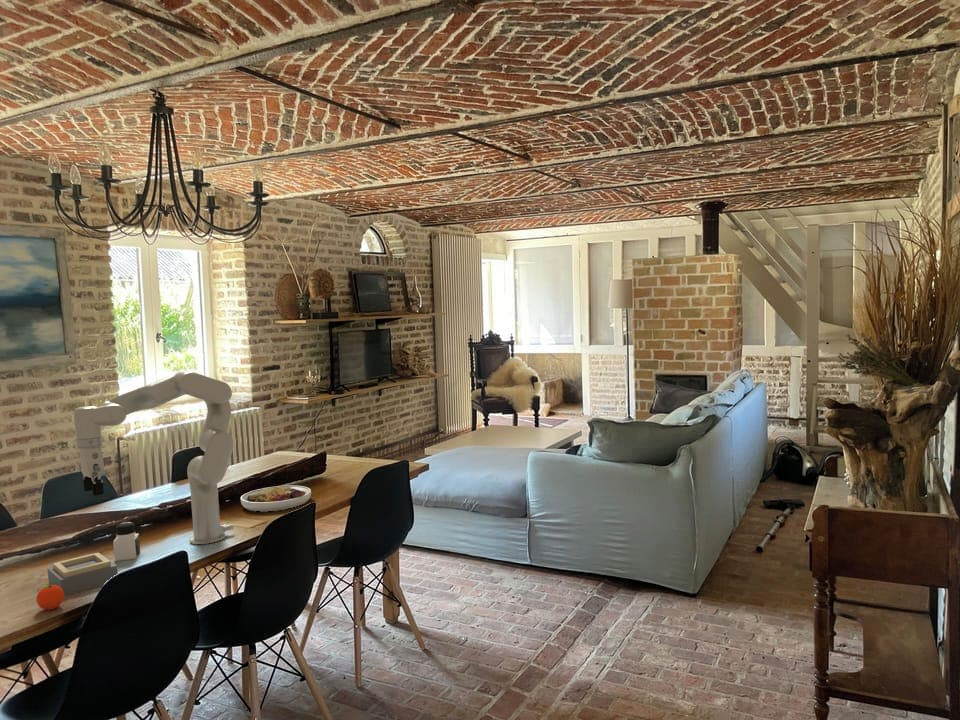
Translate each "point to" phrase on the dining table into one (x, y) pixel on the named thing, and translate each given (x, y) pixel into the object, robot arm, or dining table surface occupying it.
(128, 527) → the medicine bottle
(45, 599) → the clementine
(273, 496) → the bowl
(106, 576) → the block
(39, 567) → the dining table surface
